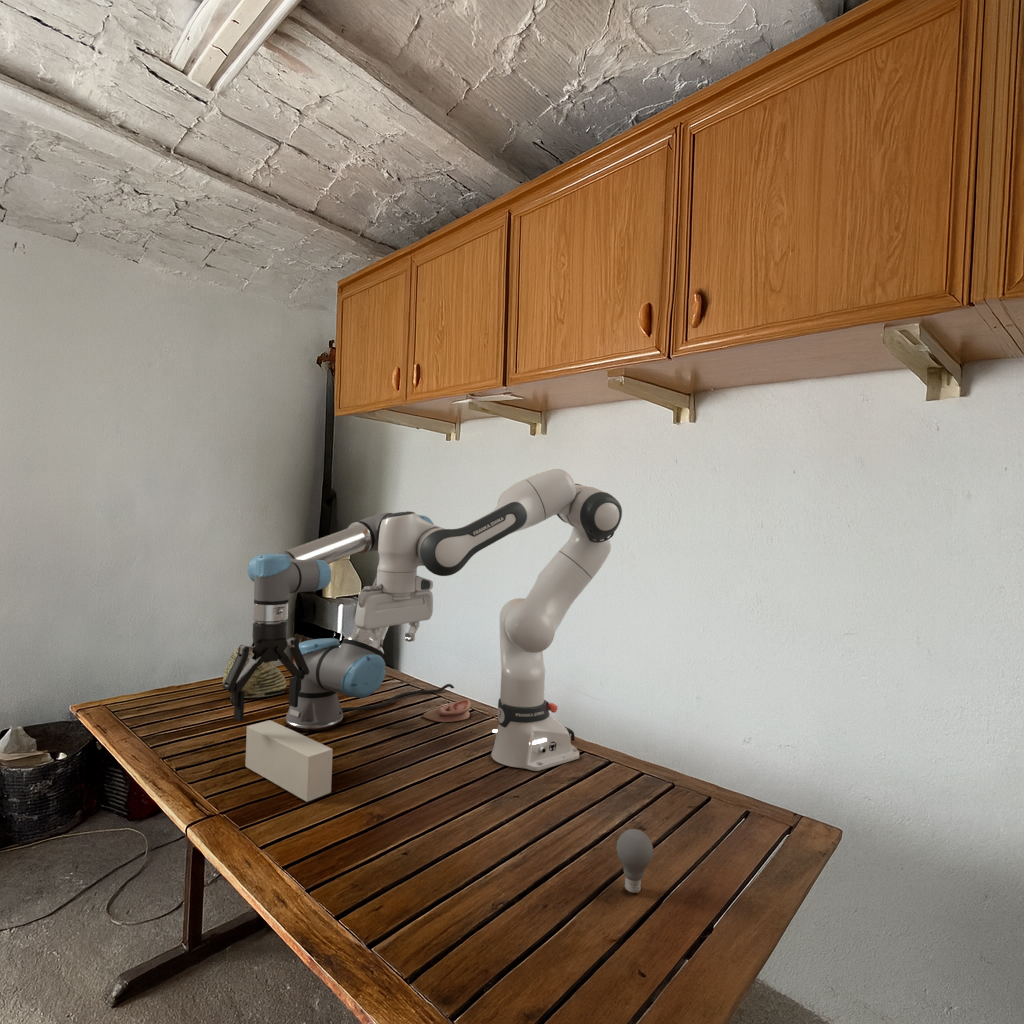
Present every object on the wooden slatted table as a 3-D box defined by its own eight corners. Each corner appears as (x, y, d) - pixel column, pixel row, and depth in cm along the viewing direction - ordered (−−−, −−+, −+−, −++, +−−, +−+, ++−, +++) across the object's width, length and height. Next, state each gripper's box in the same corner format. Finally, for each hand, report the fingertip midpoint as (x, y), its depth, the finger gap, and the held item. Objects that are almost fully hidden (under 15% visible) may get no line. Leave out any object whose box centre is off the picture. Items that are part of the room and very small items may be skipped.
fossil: (218, 695, 195) (220, 647, 195) (278, 685, 208) (279, 640, 207) (228, 703, 189) (230, 653, 188) (289, 692, 201) (290, 645, 201)
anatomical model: (419, 705, 182) (432, 694, 193) (418, 719, 182) (431, 707, 193) (463, 711, 179) (474, 698, 190) (463, 725, 179) (473, 712, 190)
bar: (245, 766, 147) (246, 726, 147) (268, 759, 151) (270, 719, 151) (306, 802, 131) (308, 756, 131) (331, 792, 136) (332, 748, 136)
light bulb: (610, 879, 108) (613, 822, 108) (644, 879, 109) (647, 822, 109) (619, 902, 102) (622, 840, 102) (655, 901, 103) (658, 840, 103)
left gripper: (225, 630, 134) (221, 730, 134) (326, 617, 154) (322, 704, 154) (208, 625, 139) (205, 721, 139) (308, 612, 158) (304, 697, 159)
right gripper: (368, 588, 133) (366, 654, 133) (438, 581, 149) (435, 639, 149) (350, 585, 137) (347, 648, 137) (419, 578, 153) (417, 635, 153)
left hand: (266, 712), depth 146 cm, fingers open, 13 cm apart
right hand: (394, 644), depth 143 cm, fingers open, 8 cm apart
